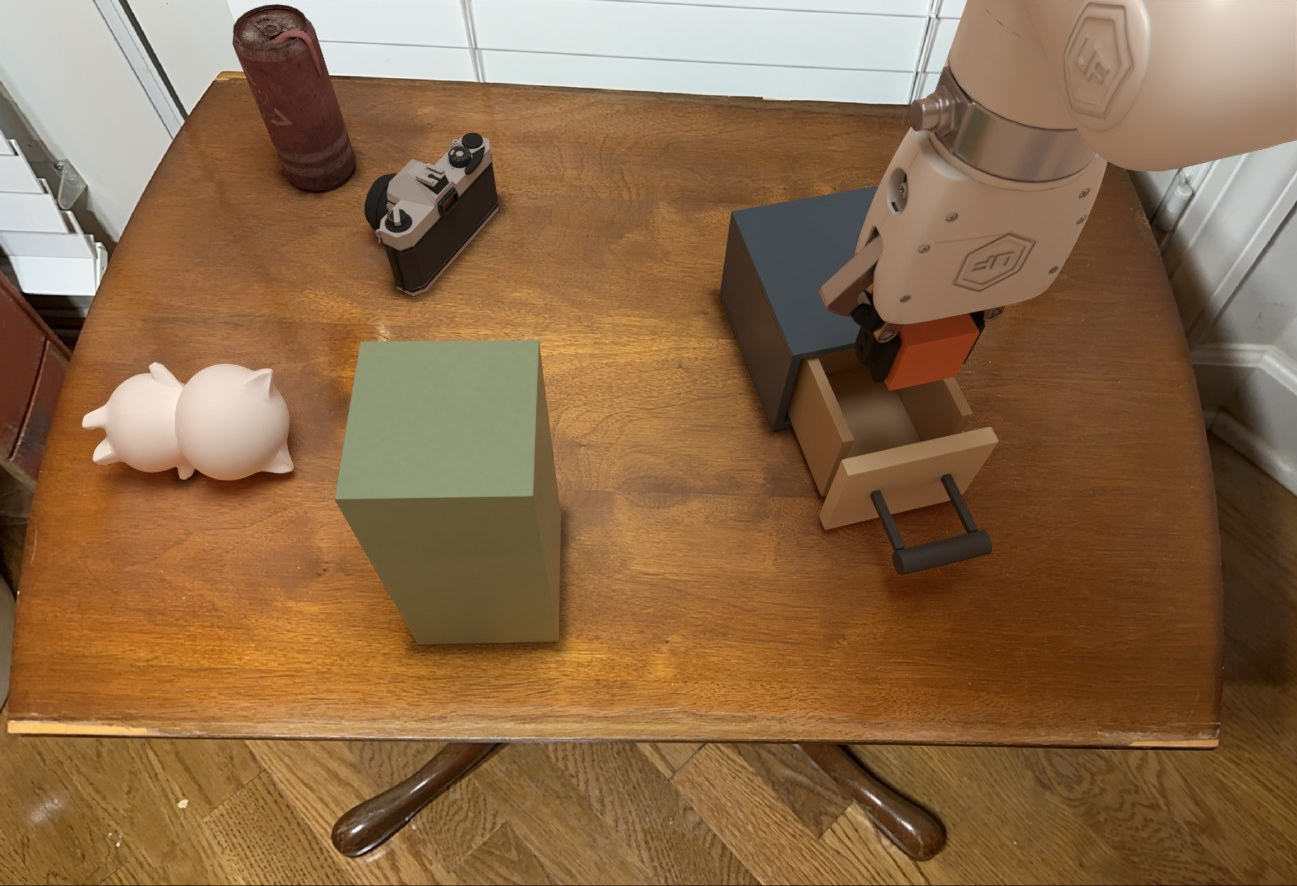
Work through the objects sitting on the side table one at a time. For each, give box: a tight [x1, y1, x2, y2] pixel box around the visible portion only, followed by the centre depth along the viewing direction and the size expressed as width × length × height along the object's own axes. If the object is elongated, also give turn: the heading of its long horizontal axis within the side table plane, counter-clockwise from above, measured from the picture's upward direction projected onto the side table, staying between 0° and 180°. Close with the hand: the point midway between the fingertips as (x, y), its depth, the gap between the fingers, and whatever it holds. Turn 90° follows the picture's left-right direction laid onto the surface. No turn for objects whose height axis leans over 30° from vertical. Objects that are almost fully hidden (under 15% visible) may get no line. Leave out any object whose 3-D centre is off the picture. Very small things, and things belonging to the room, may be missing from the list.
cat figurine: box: [81, 361, 295, 481], centre depth 64 cm, size 9×11×12 cm
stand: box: [334, 339, 562, 646], centre depth 53 cm, size 9×9×20 cm
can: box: [231, 3, 356, 192], centre depth 75 cm, size 6×6×14 cm
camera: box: [363, 132, 500, 297], centre depth 73 cm, size 13×8×9 cm, turn 154°
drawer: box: [787, 348, 999, 577], centre depth 62 cm, size 18×10×8 cm, turn 15°
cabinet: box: [719, 185, 879, 432], centre depth 68 cm, size 13×11×9 cm
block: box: [884, 313, 979, 391], centre depth 54 cm, size 4×4×4 cm
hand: (910, 353), depth 56 cm, fingers closed on block, 4 cm apart
